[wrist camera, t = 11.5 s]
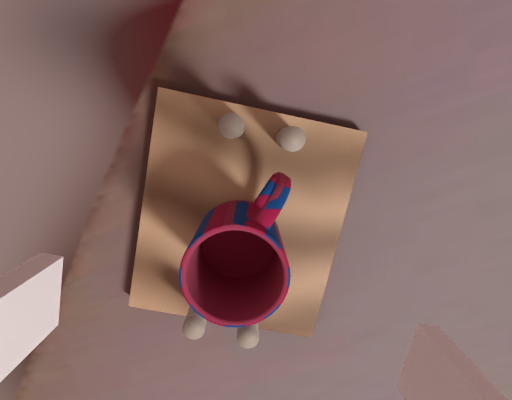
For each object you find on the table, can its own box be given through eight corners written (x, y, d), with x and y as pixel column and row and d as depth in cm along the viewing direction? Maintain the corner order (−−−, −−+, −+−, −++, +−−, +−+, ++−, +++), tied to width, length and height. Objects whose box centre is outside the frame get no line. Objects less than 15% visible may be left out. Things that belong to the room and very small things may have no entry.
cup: (181, 249, 25) (157, 290, 19) (252, 148, 24) (253, 153, 17) (249, 292, 26) (248, 346, 20) (321, 197, 25) (347, 221, 18)
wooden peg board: (162, 89, 24) (138, 76, 19) (362, 132, 25) (390, 131, 20) (133, 298, 28) (107, 336, 22) (308, 329, 28) (321, 371, 23)
